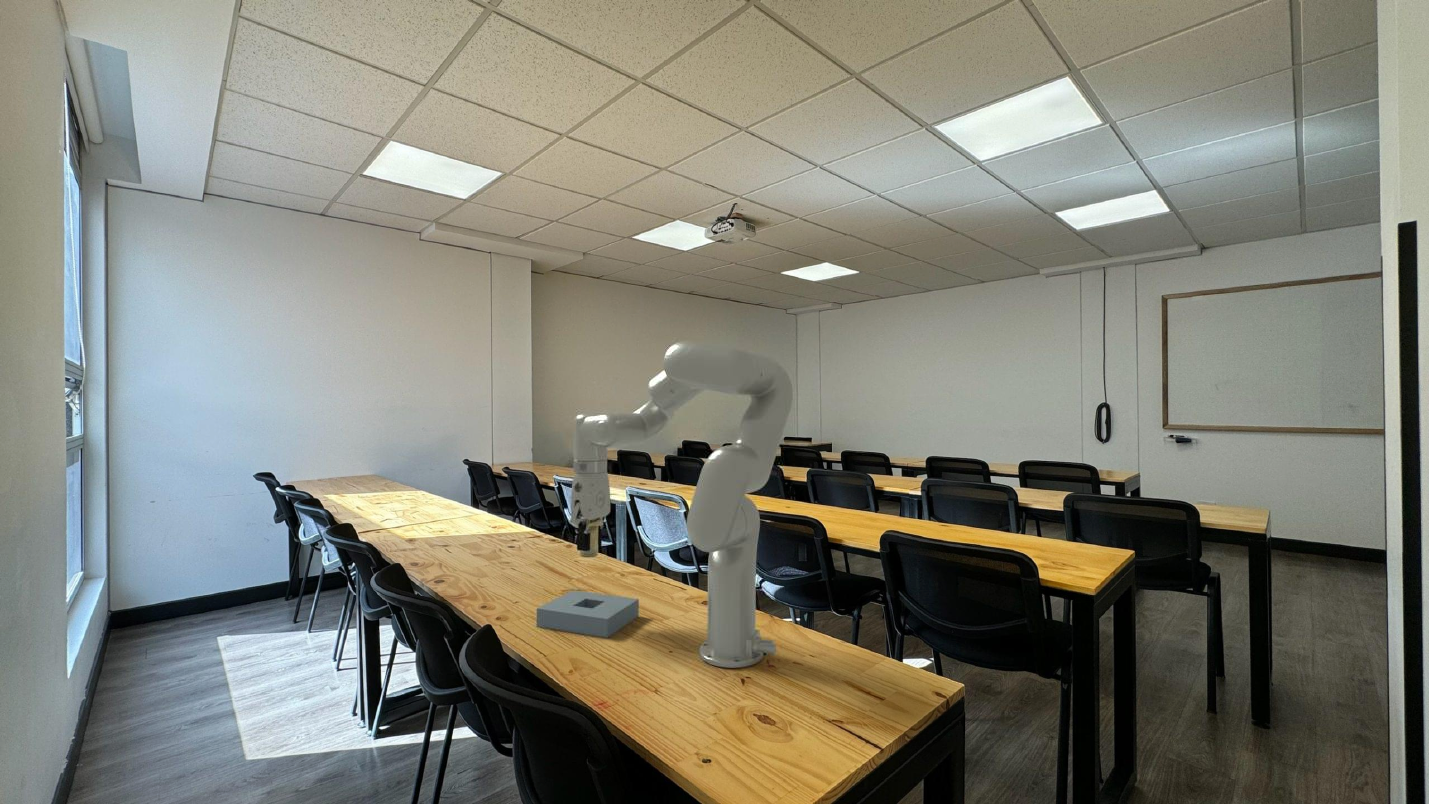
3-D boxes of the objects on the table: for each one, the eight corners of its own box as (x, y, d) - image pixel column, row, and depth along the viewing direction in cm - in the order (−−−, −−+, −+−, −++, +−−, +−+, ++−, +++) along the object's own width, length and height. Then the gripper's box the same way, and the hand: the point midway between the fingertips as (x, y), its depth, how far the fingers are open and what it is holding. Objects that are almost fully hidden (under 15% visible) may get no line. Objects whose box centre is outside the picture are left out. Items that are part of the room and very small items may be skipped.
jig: (638, 616, 134) (638, 598, 134) (607, 638, 121) (607, 619, 121) (573, 606, 141) (573, 590, 141) (536, 626, 128) (536, 608, 128)
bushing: (607, 553, 133) (607, 518, 133) (593, 559, 127) (593, 523, 127) (585, 551, 135) (585, 516, 135) (570, 557, 129) (570, 521, 130)
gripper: (583, 472, 122) (582, 558, 122) (623, 465, 138) (622, 542, 138) (554, 470, 125) (553, 555, 125) (596, 464, 141) (595, 539, 140)
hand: (589, 547), depth 131 cm, fingers closed on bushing, 4 cm apart
